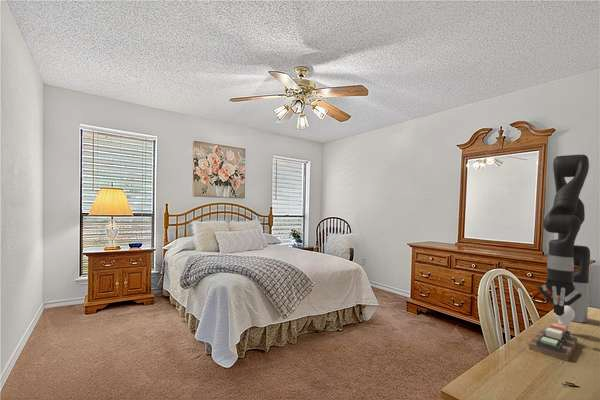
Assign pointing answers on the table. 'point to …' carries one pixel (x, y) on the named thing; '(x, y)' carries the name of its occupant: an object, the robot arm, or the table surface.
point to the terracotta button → (558, 327)
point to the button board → (560, 351)
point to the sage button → (549, 341)
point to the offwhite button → (554, 333)
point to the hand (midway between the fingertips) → (558, 315)
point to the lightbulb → (566, 316)
